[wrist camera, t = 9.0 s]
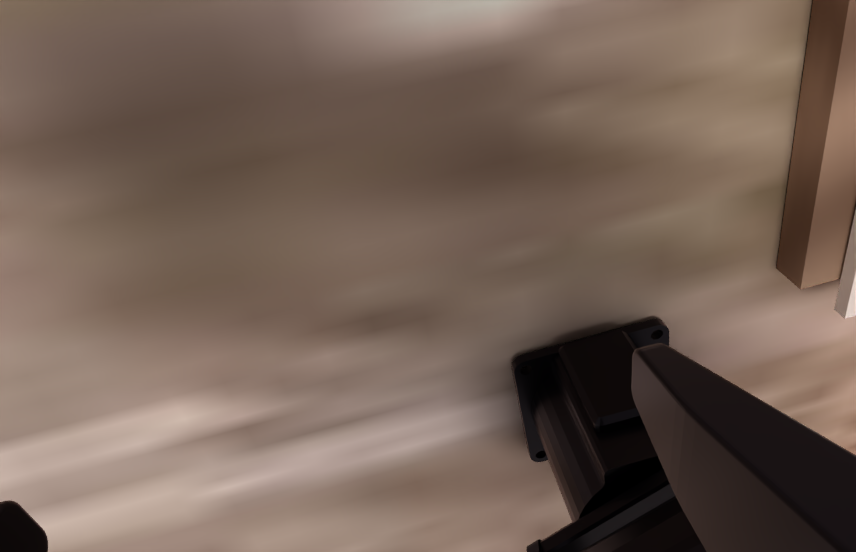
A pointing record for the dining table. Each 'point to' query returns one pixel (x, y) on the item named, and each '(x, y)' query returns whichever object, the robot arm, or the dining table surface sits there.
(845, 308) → the stub
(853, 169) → the ticket board
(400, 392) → the dining table surface
